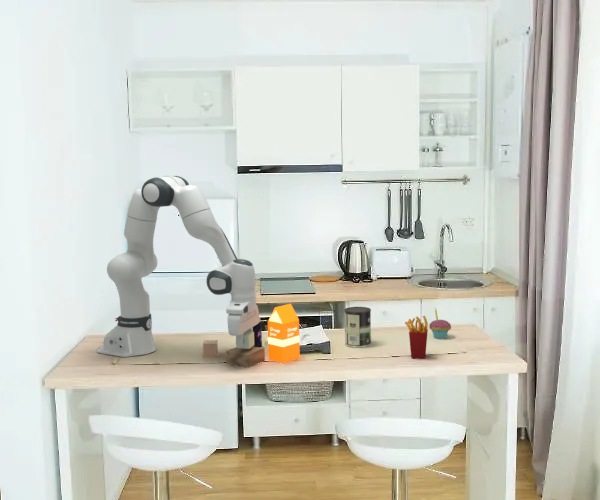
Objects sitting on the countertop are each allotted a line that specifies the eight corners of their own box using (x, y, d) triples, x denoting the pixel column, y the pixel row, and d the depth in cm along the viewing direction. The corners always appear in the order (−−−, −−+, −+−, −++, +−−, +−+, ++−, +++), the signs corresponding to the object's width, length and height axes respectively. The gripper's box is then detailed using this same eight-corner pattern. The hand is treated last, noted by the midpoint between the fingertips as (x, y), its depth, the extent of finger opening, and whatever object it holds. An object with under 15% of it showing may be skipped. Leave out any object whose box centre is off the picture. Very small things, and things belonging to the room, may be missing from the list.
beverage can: (260, 350, 293) (259, 320, 291) (245, 350, 294) (244, 319, 292) (263, 346, 298) (262, 316, 297) (249, 346, 299) (248, 316, 298)
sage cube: (236, 347, 276) (235, 334, 275) (241, 344, 280) (241, 330, 280) (249, 348, 274) (248, 335, 273) (254, 345, 279) (254, 331, 278)
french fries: (427, 359, 276) (427, 319, 274) (404, 358, 278) (404, 318, 276) (428, 353, 284) (428, 313, 282) (406, 352, 286) (406, 313, 284)
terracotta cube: (203, 356, 287) (202, 343, 286) (204, 353, 292) (204, 340, 291) (216, 356, 287) (216, 343, 286) (218, 352, 292) (217, 340, 291)
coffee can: (370, 340, 304) (369, 306, 302) (372, 347, 294) (371, 311, 292) (344, 341, 304) (343, 306, 302) (345, 348, 294) (344, 312, 292)
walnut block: (226, 364, 276) (226, 351, 276) (242, 357, 285) (242, 344, 284) (249, 368, 271) (248, 354, 270) (264, 361, 280) (264, 348, 279)
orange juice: (268, 359, 281) (266, 306, 278) (285, 354, 287) (283, 302, 284) (283, 363, 276) (282, 309, 273) (300, 357, 282) (299, 304, 279)
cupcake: (429, 339, 303) (429, 310, 302) (429, 334, 312) (429, 305, 310) (451, 340, 302) (451, 310, 300) (450, 334, 310) (450, 305, 309)
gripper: (247, 298, 286) (248, 334, 288) (224, 310, 267) (225, 348, 269) (262, 299, 284) (263, 335, 286) (240, 311, 264) (241, 349, 266)
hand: (245, 341), depth 277 cm, fingers closed on sage cube, 5 cm apart
